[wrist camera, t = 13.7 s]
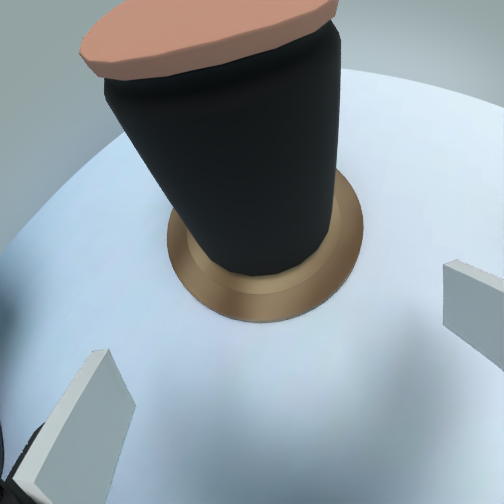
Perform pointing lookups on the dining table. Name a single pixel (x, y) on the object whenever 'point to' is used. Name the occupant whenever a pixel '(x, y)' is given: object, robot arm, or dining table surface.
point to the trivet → (279, 285)
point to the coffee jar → (231, 117)
